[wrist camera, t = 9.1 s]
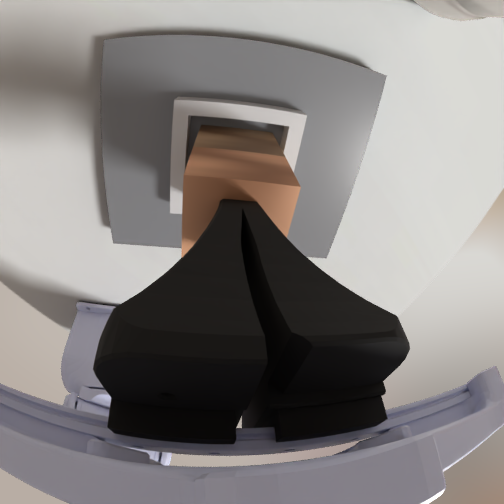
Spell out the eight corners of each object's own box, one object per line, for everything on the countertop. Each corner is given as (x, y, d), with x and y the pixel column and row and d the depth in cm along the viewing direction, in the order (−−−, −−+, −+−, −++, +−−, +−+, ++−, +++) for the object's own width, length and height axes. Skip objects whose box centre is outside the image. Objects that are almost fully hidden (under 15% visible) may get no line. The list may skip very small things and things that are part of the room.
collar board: (118, 231, 20) (108, 253, 18) (113, 40, 11) (95, 39, 9) (321, 246, 23) (330, 268, 20) (375, 72, 14) (396, 78, 12)
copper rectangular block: (195, 187, 17) (181, 265, 11) (201, 124, 14) (183, 175, 9) (260, 193, 17) (277, 271, 12) (272, 132, 15) (300, 186, 10)
